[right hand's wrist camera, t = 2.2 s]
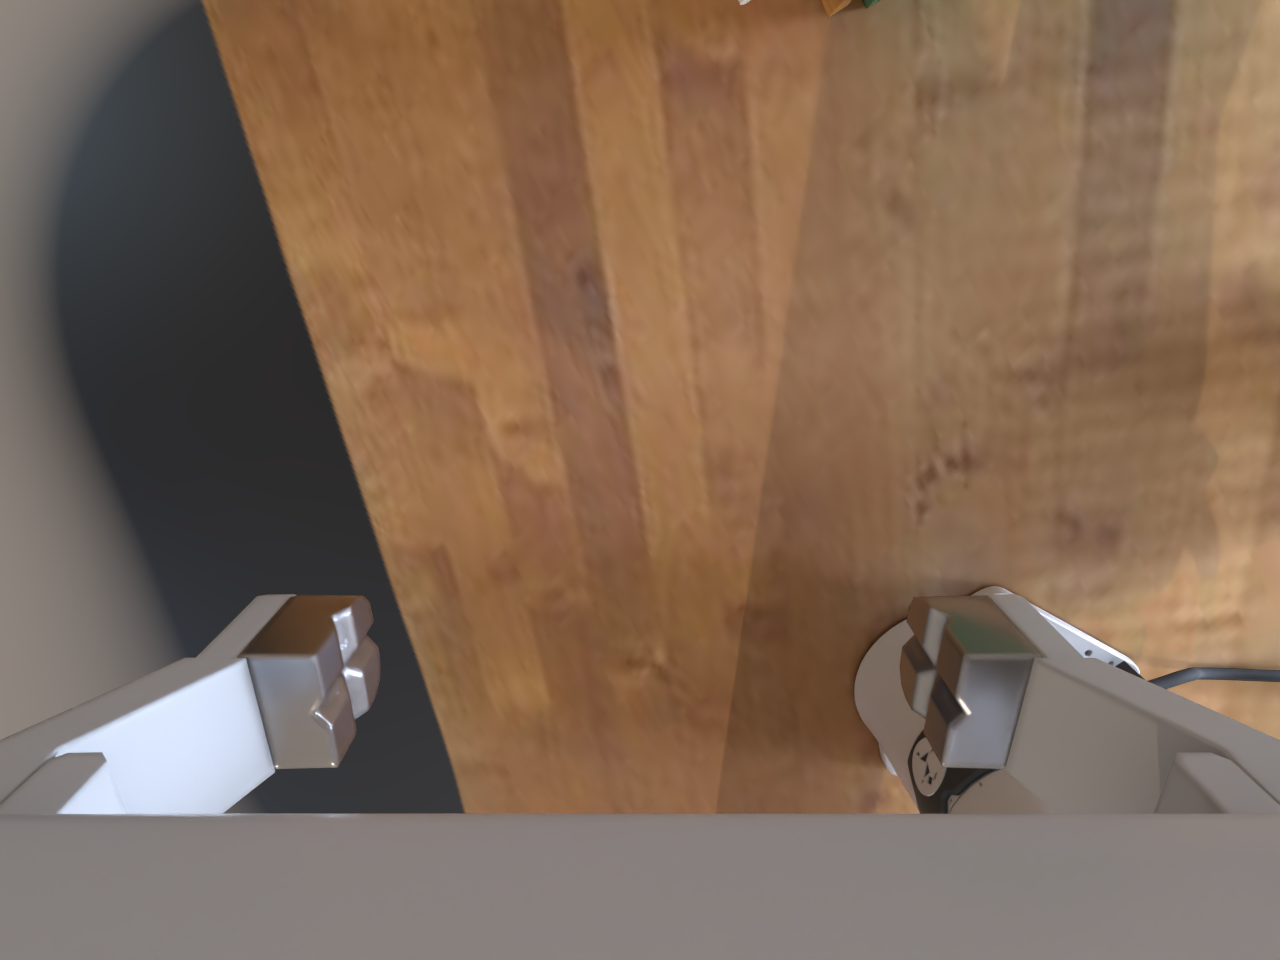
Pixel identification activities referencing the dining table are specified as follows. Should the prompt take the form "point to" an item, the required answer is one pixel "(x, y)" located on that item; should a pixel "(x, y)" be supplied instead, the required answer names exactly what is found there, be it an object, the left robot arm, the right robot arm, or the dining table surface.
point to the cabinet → (869, 2)
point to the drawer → (832, 4)
